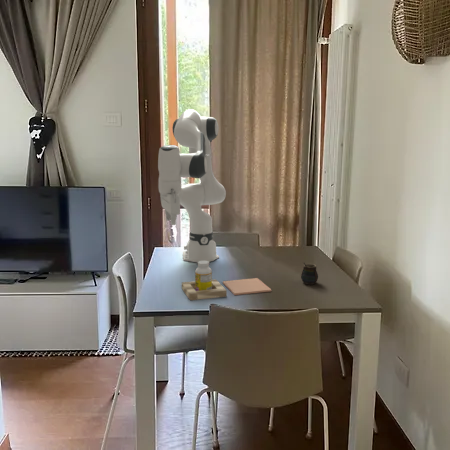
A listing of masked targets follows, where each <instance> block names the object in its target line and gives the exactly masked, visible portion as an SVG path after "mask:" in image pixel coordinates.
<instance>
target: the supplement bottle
mask: <svg viewBox="0 0 450 450" xmlns="http://www.w3.org/2000/svg"><path fill="white" fill-rule="evenodd" d="M212 271H213V270H212V268H211V267H210V262H209V261H198V262H197V267H196V269H195V271H194V273H195V274H194V275H195V278H194V279H195V280H194V281H195V288H196V289H195V291H201V290H211V289H212V280H213V278H212V277H213V275H212V273H213V272H212Z"/></svg>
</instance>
